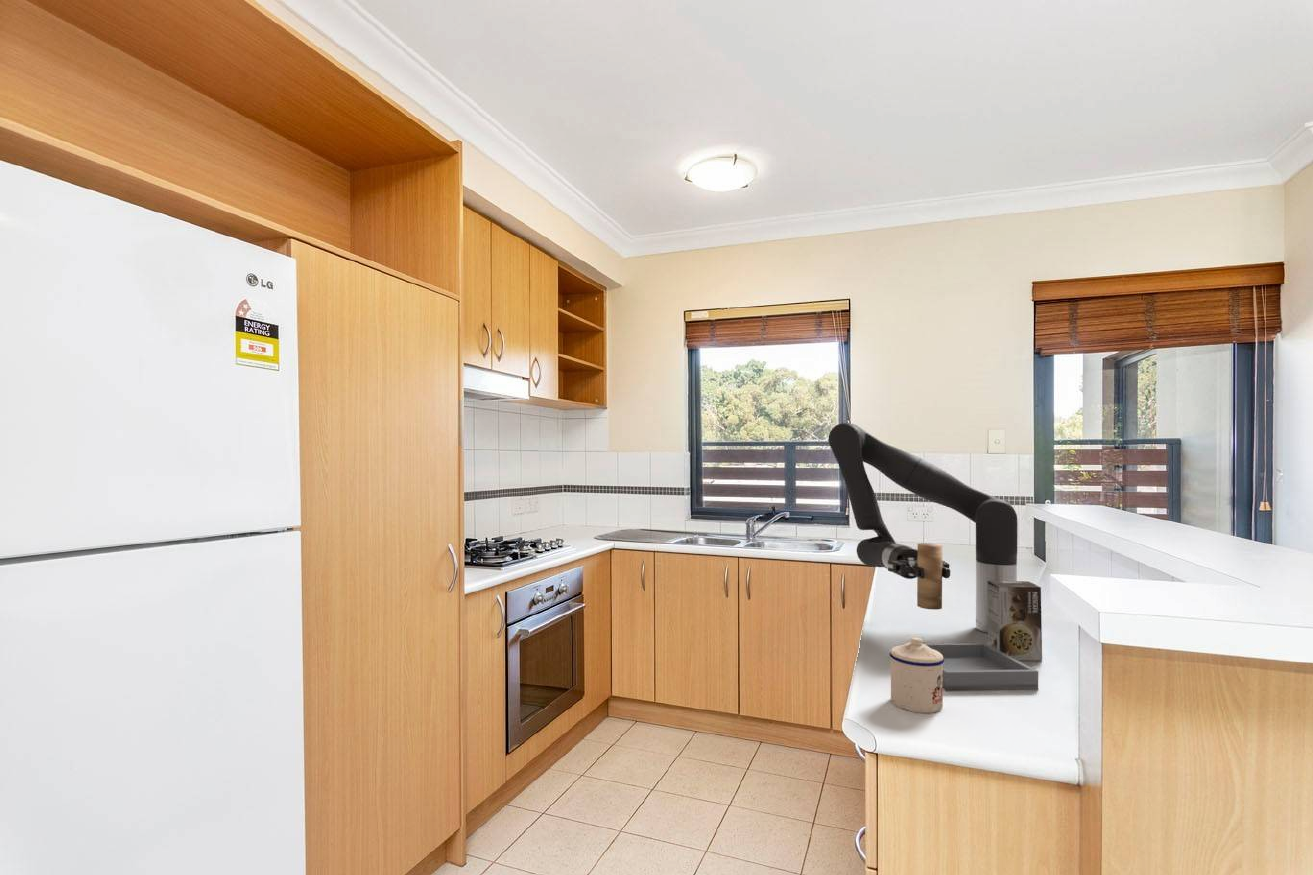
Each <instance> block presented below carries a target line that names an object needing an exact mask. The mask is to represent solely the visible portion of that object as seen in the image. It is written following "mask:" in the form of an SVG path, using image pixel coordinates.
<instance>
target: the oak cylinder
mask: <svg viewBox="0 0 1313 875" xmlns="http://www.w3.org/2000/svg"><path fill="white" fill-rule="evenodd" d="M917 550H918V558H917V566H919V567H921V568H924V578H919V577H916V579H917V582H916V584H917V586H916V588H917V591H916V593H917V594H916V596H917V598H916V599H917V600H916V606H917V607H918V608H920V609H926V610H942V609H943V577H942V561H943V545H942V544H937V543H929V542H928V543H926V542H925V543H924V542H923V543H922V542H921V543H917Z"/></svg>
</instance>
